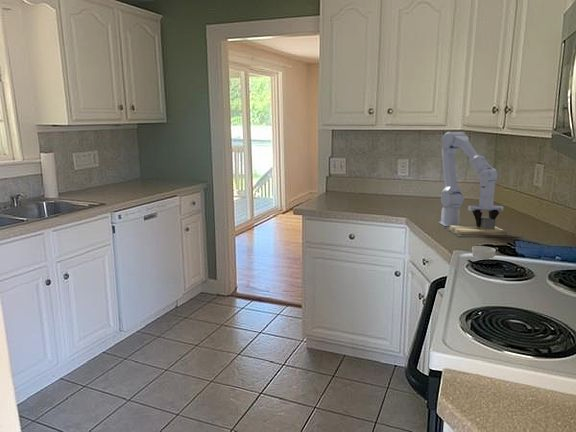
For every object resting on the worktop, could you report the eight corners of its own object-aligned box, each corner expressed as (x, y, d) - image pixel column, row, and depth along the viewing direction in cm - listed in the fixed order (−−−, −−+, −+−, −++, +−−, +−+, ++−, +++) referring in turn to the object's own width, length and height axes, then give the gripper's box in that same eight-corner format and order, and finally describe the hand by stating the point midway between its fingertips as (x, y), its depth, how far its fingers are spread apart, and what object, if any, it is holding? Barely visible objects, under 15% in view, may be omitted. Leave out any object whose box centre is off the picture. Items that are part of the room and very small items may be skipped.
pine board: (444, 228, 202) (444, 224, 202) (494, 228, 202) (494, 224, 202) (458, 236, 185) (458, 232, 184) (513, 237, 184) (513, 232, 184)
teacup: (504, 265, 144) (506, 252, 143) (476, 266, 143) (477, 252, 142) (488, 257, 154) (489, 244, 153) (461, 258, 153) (462, 245, 152)
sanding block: (475, 226, 196) (476, 216, 195) (485, 226, 196) (486, 216, 195) (484, 230, 188) (485, 220, 187) (494, 230, 188) (495, 220, 188)
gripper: (473, 197, 187) (471, 228, 189) (507, 197, 186) (505, 228, 189) (467, 195, 194) (465, 225, 196) (500, 195, 193) (497, 225, 196)
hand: (484, 226), depth 193 cm, fingers closed on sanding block, 5 cm apart
